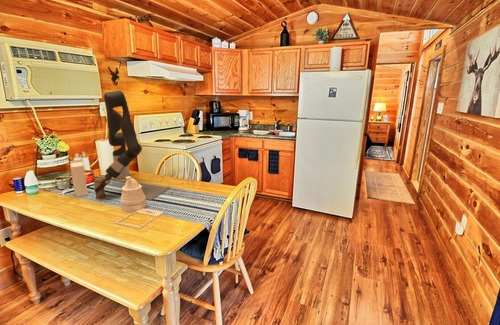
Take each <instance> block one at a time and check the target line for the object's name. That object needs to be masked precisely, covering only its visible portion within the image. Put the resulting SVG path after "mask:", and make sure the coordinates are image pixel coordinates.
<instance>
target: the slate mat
mask: <svg viewBox="0 0 500 325" xmlns="http://www.w3.org/2000/svg"><path fill="white" fill-rule="evenodd" d="M141 189H142V190H143V193H144V195H145V197H146V201H153V200H154V199H156V198H157V197H159V196H160V195H162V194H163V193H164V192H166V191H167V190H169V189H171V187H170V186H161V185H153V184H152V185H150V184H145V185H143V186H142V188H141Z"/></svg>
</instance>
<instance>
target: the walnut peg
mask: <svg viewBox="0 0 500 325" xmlns="http://www.w3.org/2000/svg"><path fill="white" fill-rule="evenodd" d="M102 180H103V179H102V178H97V179H96V178H95V179H94V180H93V185H94V190H95V189H96V188H97V187H98V186H99V185H100V184H101V181H102ZM102 186H103V184H102ZM105 192H106V191H105V187H104V188H102V189H101V190H100V191H99V192H98V193H96V192H95V191H94V193H95V199H97V200H100V199H101V200H102V199H104V197H105V198H106V193H105Z"/></svg>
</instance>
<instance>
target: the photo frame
mask: <svg viewBox="0 0 500 325" xmlns="http://www.w3.org/2000/svg"><path fill="white" fill-rule="evenodd" d="M134 214H137V215H138V214H140V215H145V216H150V217H153V218H151V219H149V220H148V221H146V222H145V223H144V224H142V225H140V226H136V225H131V224H128V223H127V224H126V223H121V222H122V221H124V220H126V219H128V218H129V217H131V216H134ZM163 214H165V212H164V211H161V210H155V209H149V208H146V207H145V208H142V209H139V210H137V211H133V212H131V213H130V214H128V215H126V216H125V217H122V218H121V219H119V220H118V221H116V222H115V223H114V224H115V225H121V226H126V227H129V228H134V229H142V228H144V227H145V226H146V225H148V224H149V223H151V222H153V221H154V220H156V219H157V218H158V217H161V216H162V215H163Z"/></svg>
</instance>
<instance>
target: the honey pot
mask: <svg viewBox="0 0 500 325" xmlns="http://www.w3.org/2000/svg"><path fill="white" fill-rule="evenodd" d="M125 179H126V182H125V183H124V186H122V187H121V190H122V193H121V196H120V200H119V202H120V209H121V211H123V212H126V213H133V212H135V211H137V210H139V209H142V208H145V209H146V207H147V200H146V197H145V195H144V193H143V190H142V189H141V188H142V187H143V186H142V185H141V184H140V183H138V181H137V180H136V179H134V178H133V177H132V176H131V175H129V176H128V177H126V178H125Z"/></svg>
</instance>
